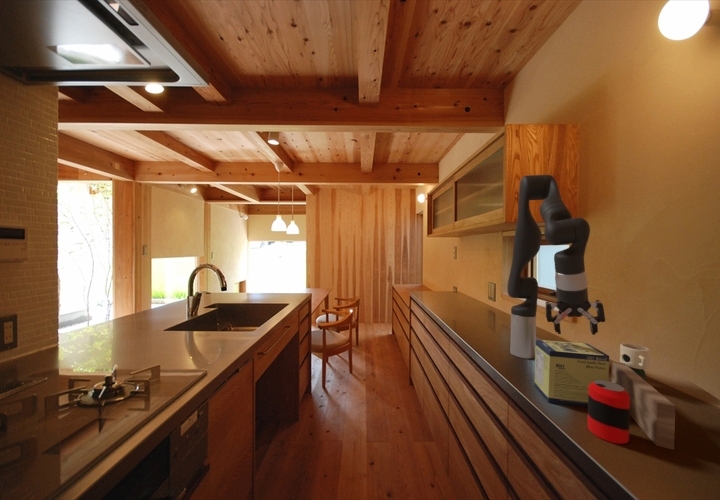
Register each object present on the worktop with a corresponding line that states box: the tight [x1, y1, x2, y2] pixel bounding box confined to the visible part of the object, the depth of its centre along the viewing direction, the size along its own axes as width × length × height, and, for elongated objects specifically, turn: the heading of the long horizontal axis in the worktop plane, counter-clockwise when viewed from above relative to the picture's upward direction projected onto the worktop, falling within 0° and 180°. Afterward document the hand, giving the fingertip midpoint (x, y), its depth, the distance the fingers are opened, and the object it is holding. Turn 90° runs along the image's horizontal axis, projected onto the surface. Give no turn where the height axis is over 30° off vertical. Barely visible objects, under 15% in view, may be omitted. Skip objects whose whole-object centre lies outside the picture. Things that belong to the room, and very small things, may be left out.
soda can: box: [587, 380, 631, 445], centre depth 68 cm, size 8×8×12 cm
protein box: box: [534, 339, 610, 408], centre depth 85 cm, size 10×16×16 cm
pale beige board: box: [610, 361, 676, 450], centre depth 76 cm, size 26×3×10 cm, turn 155°
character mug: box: [619, 342, 651, 383], centre depth 93 cm, size 11×7×13 cm, turn 159°
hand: (575, 333), depth 87 cm, fingers open, 8 cm apart
